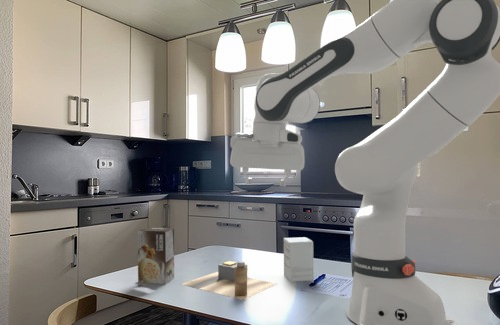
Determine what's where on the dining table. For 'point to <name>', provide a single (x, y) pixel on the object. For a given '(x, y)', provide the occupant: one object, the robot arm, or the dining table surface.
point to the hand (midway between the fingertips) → (265, 185)
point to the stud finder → (227, 270)
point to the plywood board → (227, 285)
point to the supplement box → (298, 259)
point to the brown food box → (156, 255)
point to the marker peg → (240, 279)
